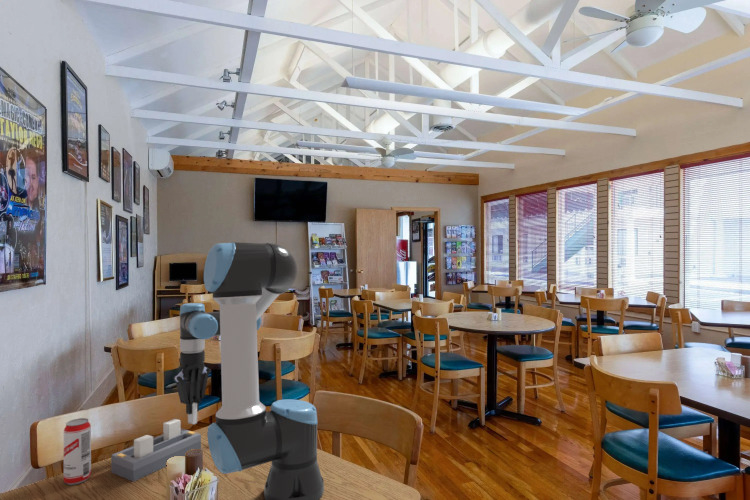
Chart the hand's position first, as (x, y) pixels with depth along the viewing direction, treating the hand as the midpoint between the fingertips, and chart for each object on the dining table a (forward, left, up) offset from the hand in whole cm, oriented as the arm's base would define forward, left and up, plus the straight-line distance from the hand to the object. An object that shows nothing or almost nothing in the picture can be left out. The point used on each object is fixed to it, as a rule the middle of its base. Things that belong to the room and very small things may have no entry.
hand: (192, 422), depth 145 cm
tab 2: (0, +7, -3) cm, 8 cm away
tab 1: (-4, +20, -3) cm, 20 cm away
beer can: (+7, +32, -7) cm, 33 cm away
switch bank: (-2, +14, -6) cm, 15 cm away
